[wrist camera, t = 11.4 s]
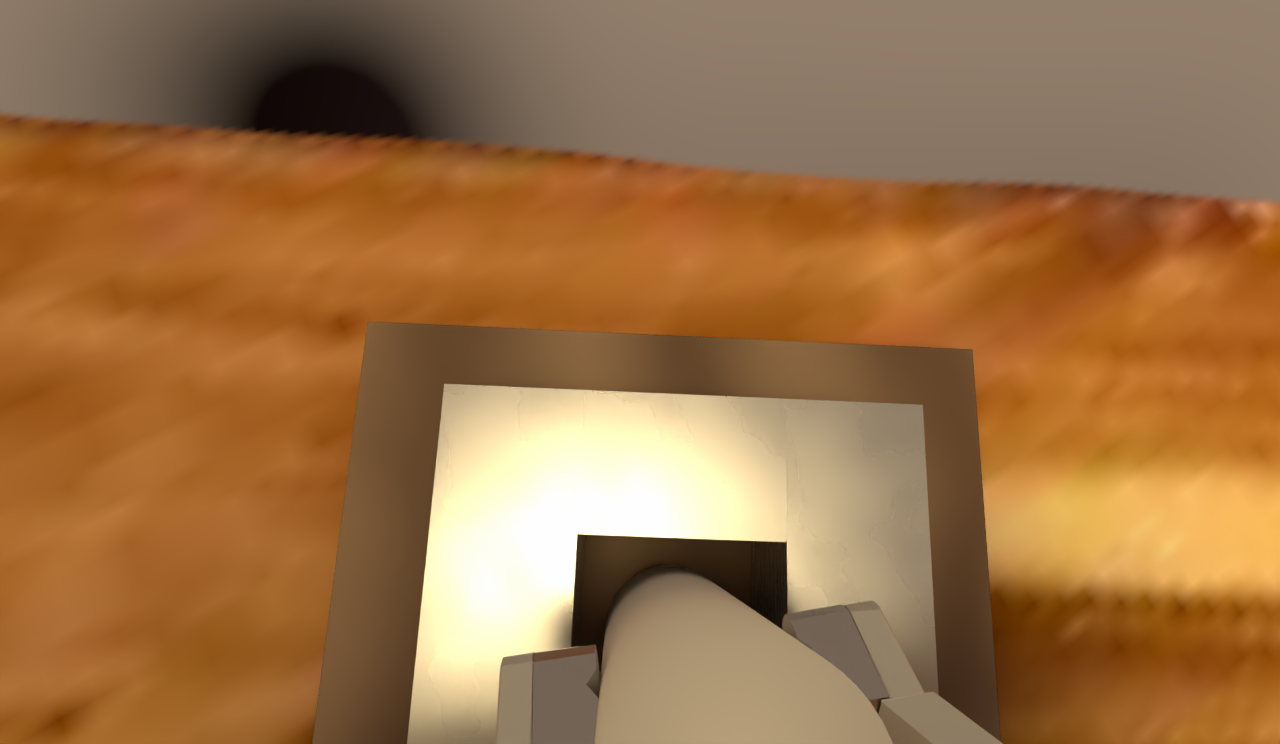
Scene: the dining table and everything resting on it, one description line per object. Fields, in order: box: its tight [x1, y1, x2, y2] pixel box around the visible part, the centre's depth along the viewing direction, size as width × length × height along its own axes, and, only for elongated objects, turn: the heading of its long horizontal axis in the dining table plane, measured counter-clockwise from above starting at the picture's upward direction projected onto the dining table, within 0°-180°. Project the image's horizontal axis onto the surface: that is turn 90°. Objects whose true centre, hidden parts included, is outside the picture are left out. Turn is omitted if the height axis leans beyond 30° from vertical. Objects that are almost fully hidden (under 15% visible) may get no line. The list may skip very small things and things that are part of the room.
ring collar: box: [407, 384, 939, 744], centre depth 16 cm, size 11×11×4 cm
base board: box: [312, 322, 1001, 744], centre depth 18 cm, size 18×16×1 cm
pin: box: [595, 565, 893, 744], centre depth 11 cm, size 3×3×10 cm
